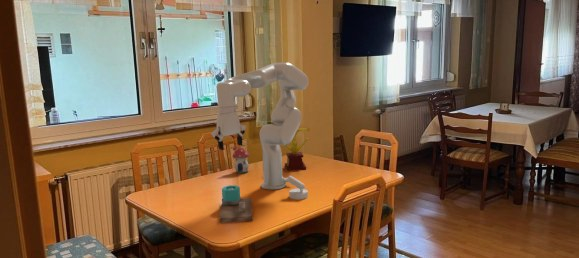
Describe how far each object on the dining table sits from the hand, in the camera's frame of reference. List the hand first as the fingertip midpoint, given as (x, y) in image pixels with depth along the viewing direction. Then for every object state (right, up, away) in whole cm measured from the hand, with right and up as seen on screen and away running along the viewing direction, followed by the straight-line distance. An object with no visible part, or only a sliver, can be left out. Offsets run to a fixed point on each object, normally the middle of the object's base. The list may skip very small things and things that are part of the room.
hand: (230, 147), depth 202 cm
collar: (+1, -22, -6) cm, 23 cm away
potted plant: (+30, -14, +59) cm, 67 cm away
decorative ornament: (-1, -17, +53) cm, 55 cm away
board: (+4, -27, -11) cm, 29 cm away
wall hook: (+30, -23, +7) cm, 39 cm away
